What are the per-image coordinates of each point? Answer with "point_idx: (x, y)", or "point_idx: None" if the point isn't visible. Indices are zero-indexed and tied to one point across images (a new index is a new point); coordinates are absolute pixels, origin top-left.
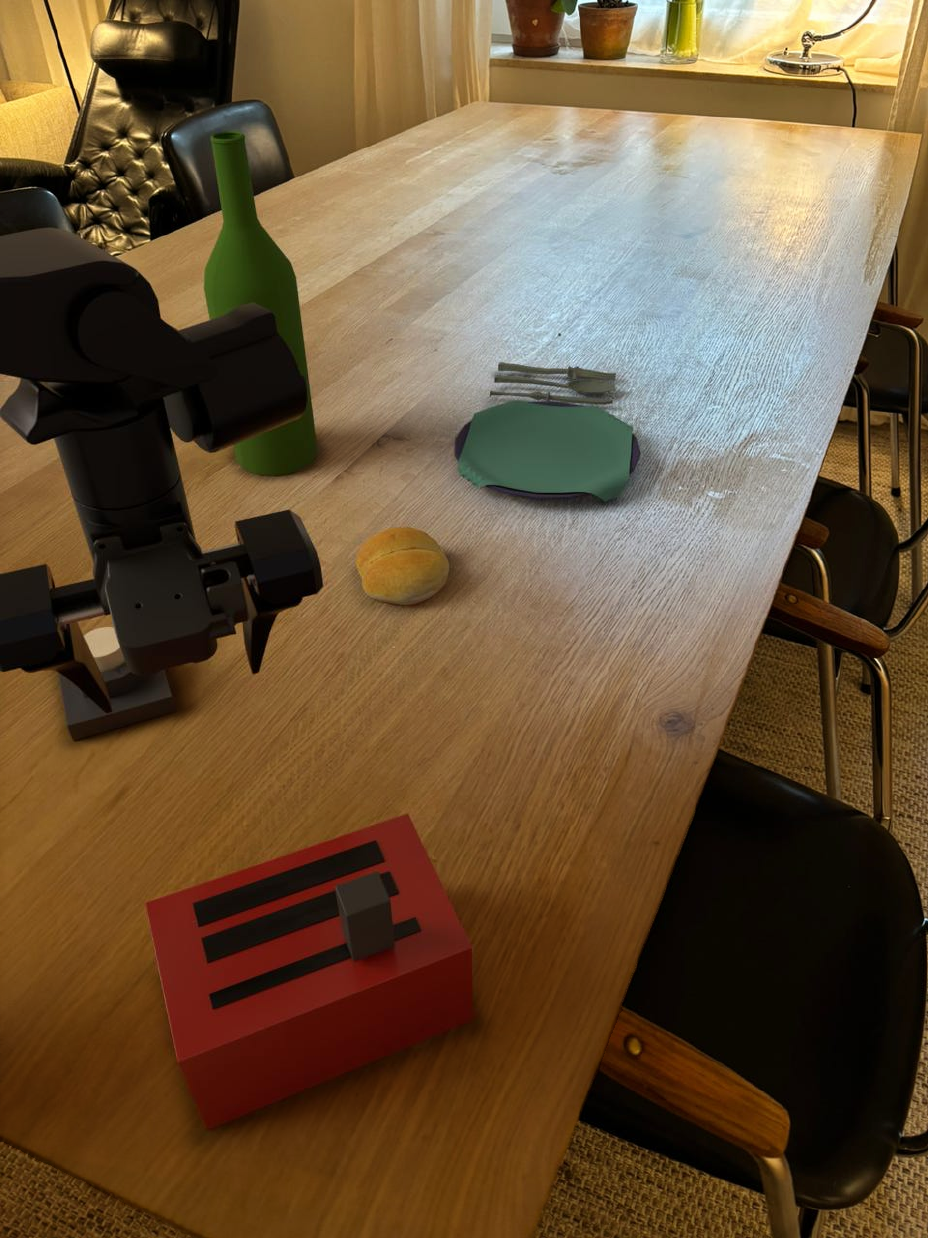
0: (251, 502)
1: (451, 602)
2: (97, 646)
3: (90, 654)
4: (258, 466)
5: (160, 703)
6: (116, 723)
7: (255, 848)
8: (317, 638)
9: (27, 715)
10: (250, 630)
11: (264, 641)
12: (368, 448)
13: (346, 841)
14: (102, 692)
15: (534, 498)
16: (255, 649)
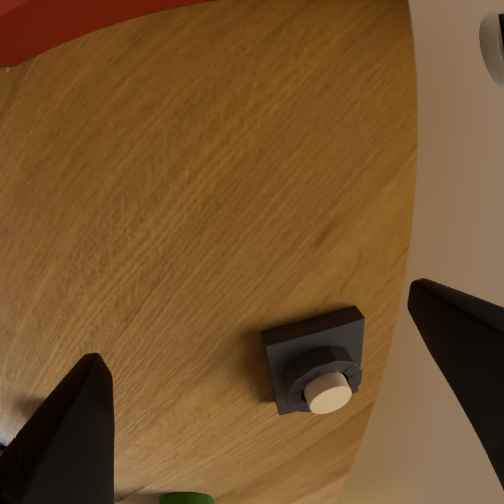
0: (200, 481)
1: (26, 398)
2: (335, 396)
3: (473, 402)
4: (197, 498)
5: (277, 339)
6: (319, 321)
7: (175, 133)
8: (127, 391)
9: (382, 332)
10: (43, 478)
11: (24, 431)
12: (126, 497)
13: (3, 2)
14: (465, 311)
15: (2, 451)
16: (54, 414)
